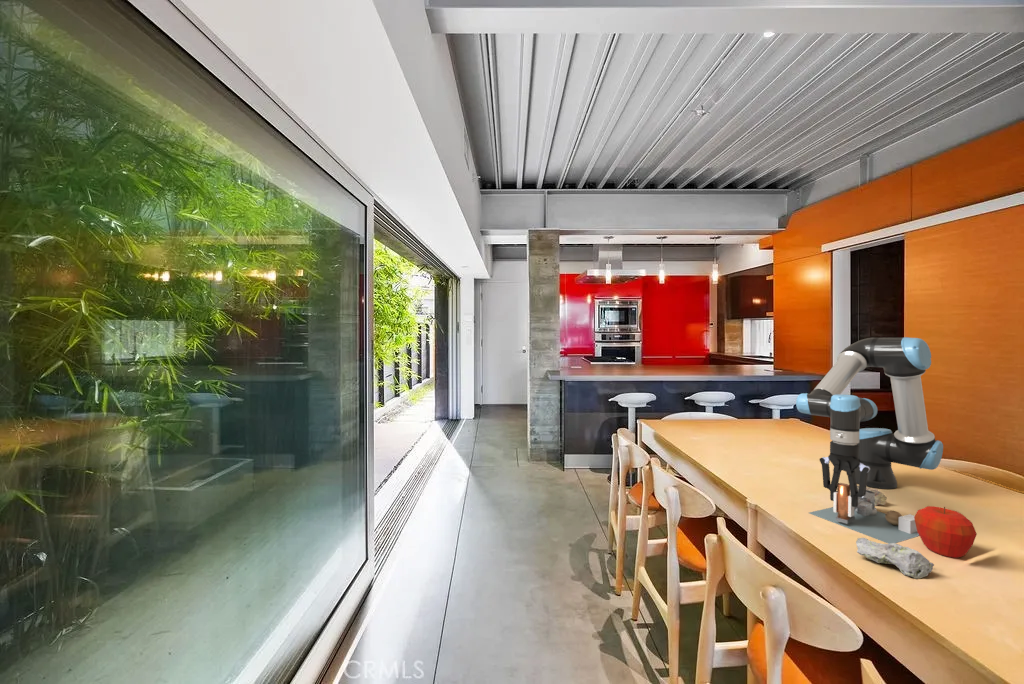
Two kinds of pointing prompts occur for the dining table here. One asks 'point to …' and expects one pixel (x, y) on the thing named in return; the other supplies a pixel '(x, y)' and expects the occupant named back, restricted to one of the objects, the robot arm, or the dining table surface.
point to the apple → (945, 531)
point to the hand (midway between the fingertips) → (843, 513)
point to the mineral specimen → (896, 557)
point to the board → (875, 525)
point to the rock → (877, 496)
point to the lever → (863, 507)
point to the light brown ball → (893, 517)
